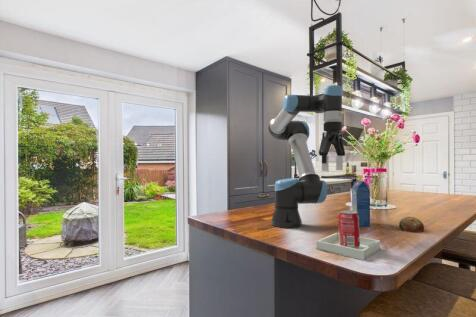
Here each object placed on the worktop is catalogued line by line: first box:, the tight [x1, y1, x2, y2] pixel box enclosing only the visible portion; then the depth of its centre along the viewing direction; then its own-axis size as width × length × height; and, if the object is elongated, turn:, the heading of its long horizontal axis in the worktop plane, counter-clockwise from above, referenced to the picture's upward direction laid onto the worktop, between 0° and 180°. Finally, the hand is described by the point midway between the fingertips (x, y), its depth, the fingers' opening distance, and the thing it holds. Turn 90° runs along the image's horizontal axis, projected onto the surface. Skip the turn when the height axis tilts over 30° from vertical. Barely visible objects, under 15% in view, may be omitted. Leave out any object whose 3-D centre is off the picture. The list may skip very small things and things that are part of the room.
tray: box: [315, 232, 381, 261], centre depth 101 cm, size 17×17×3 cm
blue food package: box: [351, 174, 371, 228], centre depth 142 cm, size 6×12×25 cm, turn 168°
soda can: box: [338, 209, 361, 249], centre depth 102 cm, size 7×7×13 cm
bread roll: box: [398, 216, 425, 233], centre depth 130 cm, size 10×10×8 cm
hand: (332, 170), depth 121 cm, fingers open, 13 cm apart
